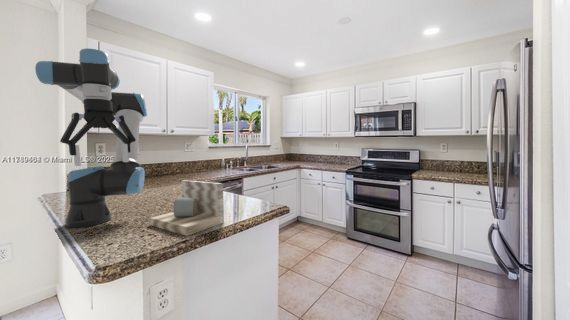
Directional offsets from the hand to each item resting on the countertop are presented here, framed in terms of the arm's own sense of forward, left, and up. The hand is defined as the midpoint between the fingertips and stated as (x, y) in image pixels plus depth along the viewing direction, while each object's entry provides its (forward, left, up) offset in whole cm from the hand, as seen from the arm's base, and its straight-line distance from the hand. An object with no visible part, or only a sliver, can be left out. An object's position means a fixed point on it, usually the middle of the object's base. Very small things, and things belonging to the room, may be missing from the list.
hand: (103, 163), depth 81 cm
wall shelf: (+10, +23, -26) cm, 36 cm away
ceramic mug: (+8, +25, -23) cm, 35 cm away
